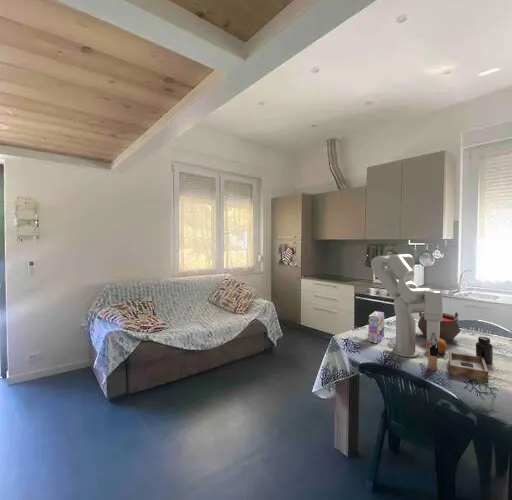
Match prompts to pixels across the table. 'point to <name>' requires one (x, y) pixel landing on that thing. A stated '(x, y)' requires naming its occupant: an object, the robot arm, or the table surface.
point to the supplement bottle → (484, 349)
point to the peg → (432, 361)
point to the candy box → (376, 326)
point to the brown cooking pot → (442, 326)
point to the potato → (439, 345)
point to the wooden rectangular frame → (468, 366)
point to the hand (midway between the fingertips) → (434, 352)
